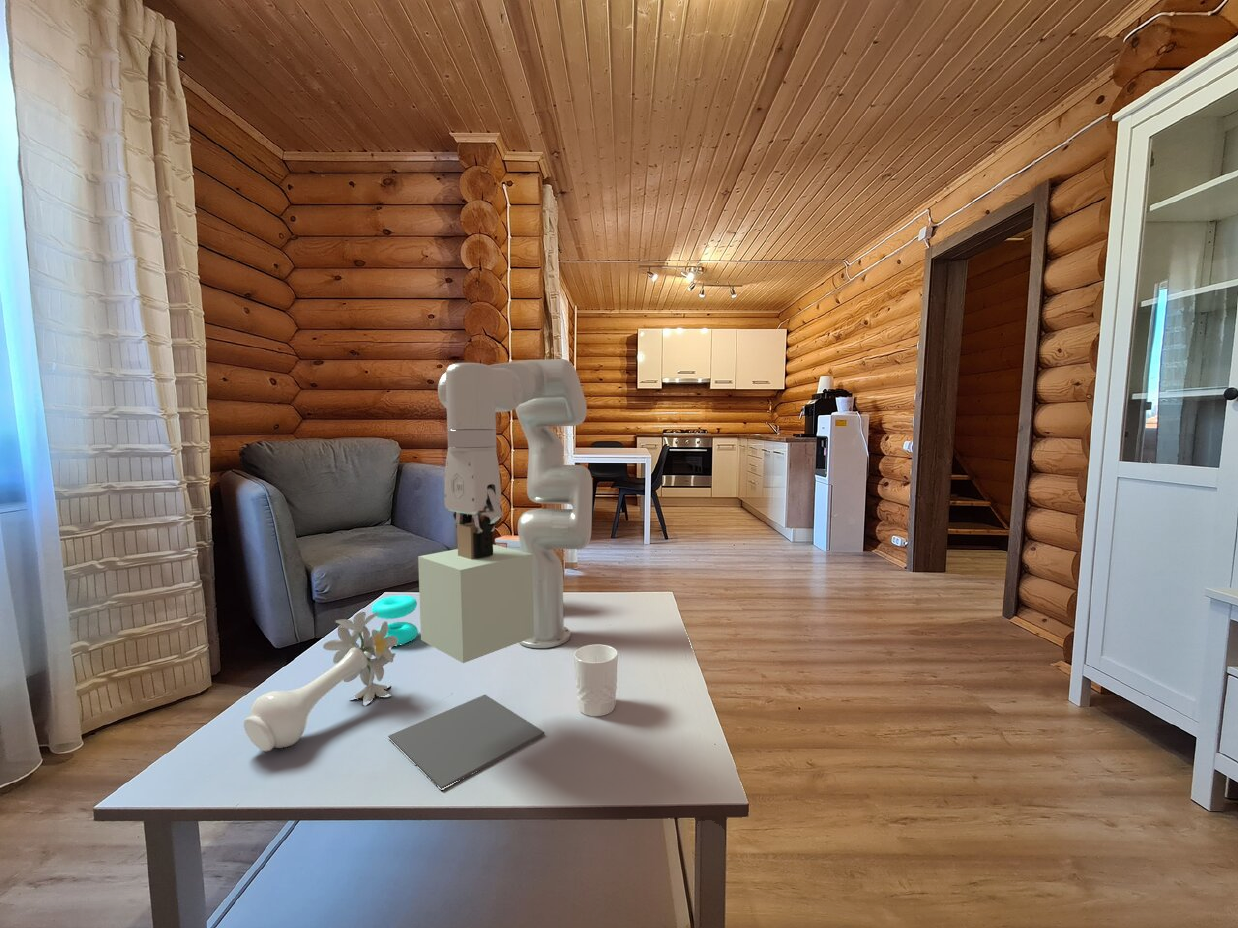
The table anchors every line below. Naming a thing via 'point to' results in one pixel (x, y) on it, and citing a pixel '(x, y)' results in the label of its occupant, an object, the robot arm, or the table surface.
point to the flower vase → (322, 684)
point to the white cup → (596, 679)
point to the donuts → (397, 616)
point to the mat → (465, 739)
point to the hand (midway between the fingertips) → (475, 553)
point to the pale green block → (475, 598)
